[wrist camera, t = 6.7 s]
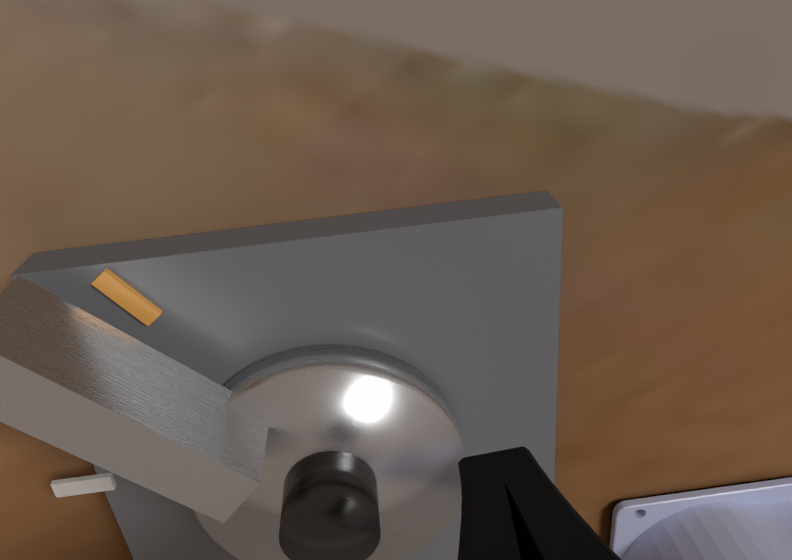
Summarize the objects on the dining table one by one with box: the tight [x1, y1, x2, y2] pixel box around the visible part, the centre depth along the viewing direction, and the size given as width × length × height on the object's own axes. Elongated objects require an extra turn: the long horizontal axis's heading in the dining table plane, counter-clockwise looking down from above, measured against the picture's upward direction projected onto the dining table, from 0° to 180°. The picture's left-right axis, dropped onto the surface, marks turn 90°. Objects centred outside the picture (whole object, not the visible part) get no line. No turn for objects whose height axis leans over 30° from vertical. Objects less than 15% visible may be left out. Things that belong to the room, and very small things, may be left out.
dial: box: [0, 276, 466, 560], centre depth 19 cm, size 16×9×4 cm, turn 51°
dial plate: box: [11, 191, 563, 560], centre depth 22 cm, size 16×18×2 cm
